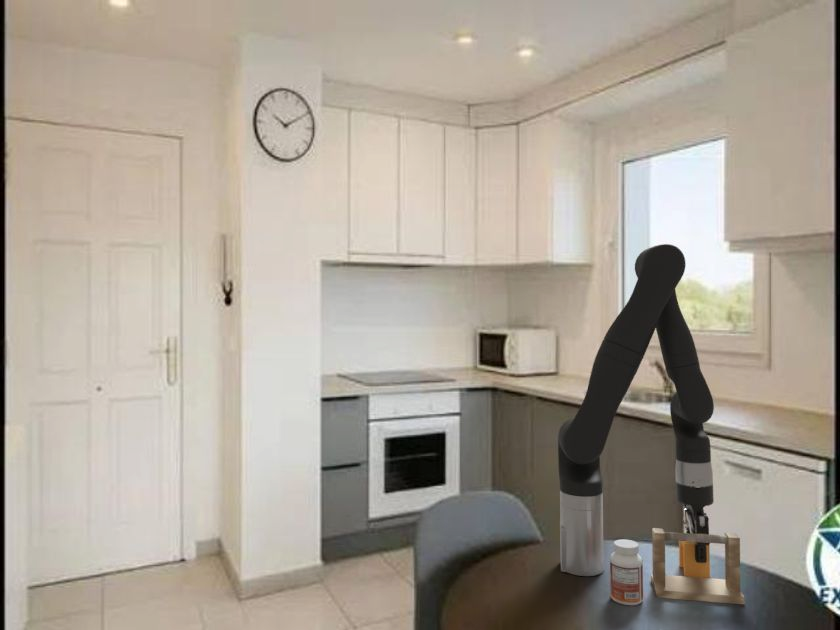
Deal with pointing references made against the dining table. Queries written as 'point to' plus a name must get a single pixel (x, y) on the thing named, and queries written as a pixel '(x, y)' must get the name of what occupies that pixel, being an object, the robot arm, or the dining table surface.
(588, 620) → the dining table surface
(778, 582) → the dining table surface
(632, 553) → the pill bottle
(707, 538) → the rack
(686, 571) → the notched orange block
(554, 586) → the dining table surface
